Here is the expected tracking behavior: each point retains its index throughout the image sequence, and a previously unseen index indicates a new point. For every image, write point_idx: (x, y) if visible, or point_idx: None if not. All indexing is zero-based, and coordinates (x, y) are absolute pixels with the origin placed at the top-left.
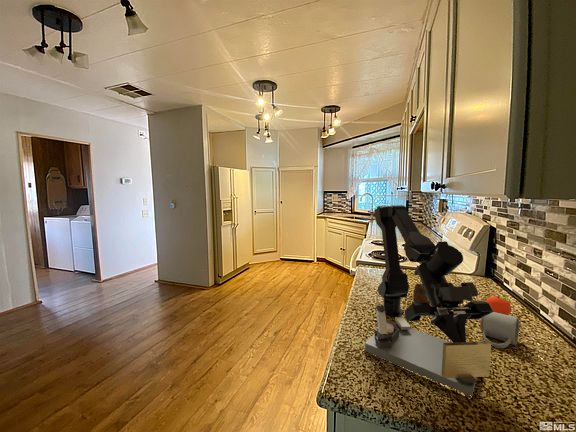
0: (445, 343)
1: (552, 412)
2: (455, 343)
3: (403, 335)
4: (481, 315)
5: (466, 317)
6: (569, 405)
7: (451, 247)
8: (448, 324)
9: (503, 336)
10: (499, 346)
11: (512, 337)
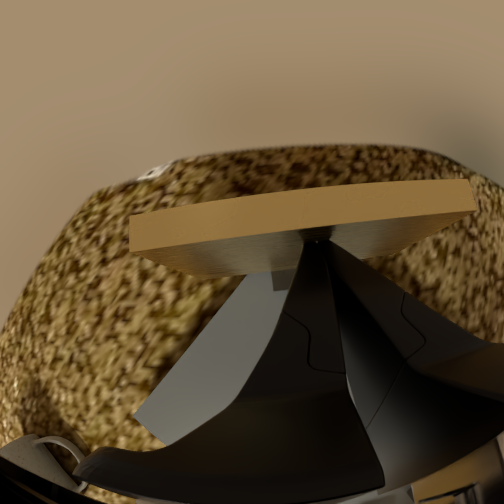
0: (468, 201)
1: (107, 208)
2: (411, 202)
3: (390, 495)
4: (19, 471)
5: (196, 444)
6: (60, 235)
7: None
8: (475, 340)
9: (42, 455)
10: (67, 442)
11: (25, 440)
